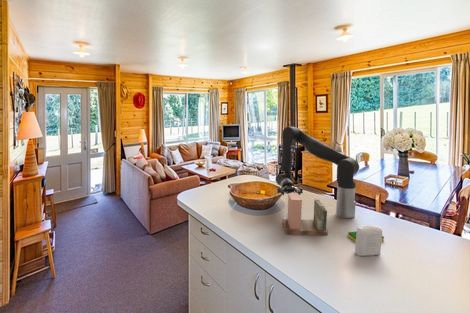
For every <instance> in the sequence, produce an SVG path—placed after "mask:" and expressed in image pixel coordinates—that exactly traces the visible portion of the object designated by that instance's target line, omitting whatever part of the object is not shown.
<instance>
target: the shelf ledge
mask: <svg viewBox="0 0 470 313" xmlns="http://www.w3.org/2000/svg"><path fill="white" fill-rule="evenodd" d="M313 202H314V204H313V219H303V218H301V229H290V226H289V223H288V218H282V226H283V230H284V234H285V235H295V236H297V235H300V236H308V235H309V236H328V234H329V232H328V230H327V220H328V210H327V209H326V207H325V204H324V203H323V202H322V201H321V200H320V199H318V198H317V199H316V198H314V201H313Z"/></svg>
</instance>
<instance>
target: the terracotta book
mask: <svg viewBox="0 0 470 313" xmlns="http://www.w3.org/2000/svg"><path fill="white" fill-rule="evenodd" d="M287 197H288V198H287V219H288V223H289V226H290V229H301V219H302V208H303V207H302V205H303V203H302V201H303V199H302V198H301V196H300V195H299V194H298V193H288V194H287Z"/></svg>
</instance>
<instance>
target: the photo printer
mask: <svg viewBox="0 0 470 313" xmlns="http://www.w3.org/2000/svg"><path fill="white" fill-rule="evenodd" d="M356 232H357V233H356V242H355V246H354V251H355V252H354V253H355V255H357V256H359V257H362V256H363V257H365V256H378V255H380V254H381V249H382V242H383V241H382V236H383V230H382V227H380V226H377V225H375V224H374V225H373V224H372V225H371V224H370V225H369V224H367V225H362V226H360V227H358V228H357V229H356Z"/></svg>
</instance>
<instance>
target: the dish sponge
mask: <svg viewBox="0 0 470 313" xmlns="http://www.w3.org/2000/svg"><path fill="white" fill-rule="evenodd" d="M356 233H357V231H348V233H347V237H348V238H350V239H351V241H353V242H354V243H356ZM381 242H385V236H384V235H382V241H381Z"/></svg>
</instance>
